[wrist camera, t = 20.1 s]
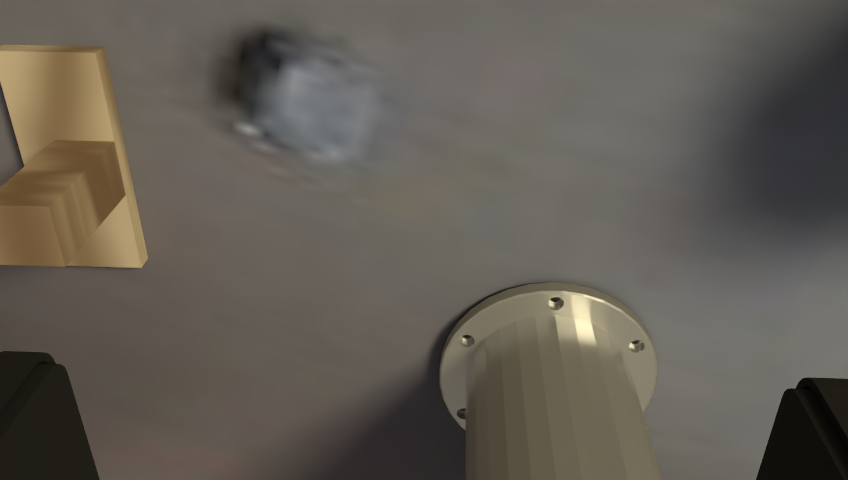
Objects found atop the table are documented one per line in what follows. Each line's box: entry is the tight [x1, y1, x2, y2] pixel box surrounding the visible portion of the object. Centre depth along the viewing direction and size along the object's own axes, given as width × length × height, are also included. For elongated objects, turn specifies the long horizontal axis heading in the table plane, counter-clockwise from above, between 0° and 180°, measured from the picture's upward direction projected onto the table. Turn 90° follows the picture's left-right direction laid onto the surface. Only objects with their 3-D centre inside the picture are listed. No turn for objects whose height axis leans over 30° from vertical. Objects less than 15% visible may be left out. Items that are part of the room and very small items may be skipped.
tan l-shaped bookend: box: [0, 45, 148, 268], centre depth 37 cm, size 5×12×8 cm, turn 0°
